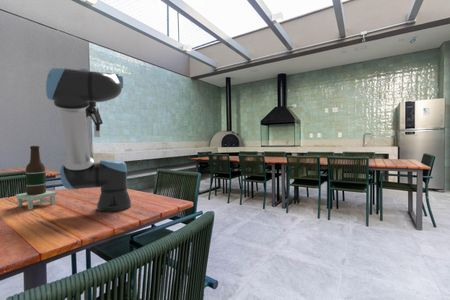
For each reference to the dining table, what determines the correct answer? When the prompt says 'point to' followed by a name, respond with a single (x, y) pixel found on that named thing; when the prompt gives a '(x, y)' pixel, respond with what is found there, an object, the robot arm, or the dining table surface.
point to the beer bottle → (35, 174)
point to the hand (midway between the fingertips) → (89, 136)
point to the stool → (35, 197)
